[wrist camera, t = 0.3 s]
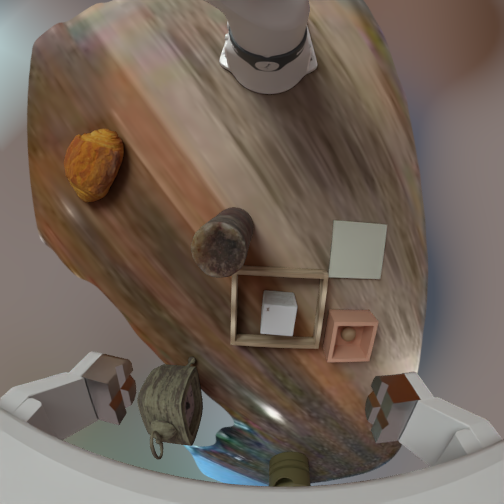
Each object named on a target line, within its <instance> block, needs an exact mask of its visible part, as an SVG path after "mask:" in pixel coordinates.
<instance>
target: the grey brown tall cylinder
mask: <svg viewBox="0 0 504 504" xmlns="http://www.w3.org/2000/svg"><path fill="white" fill-rule="evenodd" d="M252 235H253V222H252V219H251V217H250V215H249V214H248V213H247V212H246V211H245V210H243V209H240V208H235V207H233V208H228V209H225V210H224V211H222V212H221V213H219V214H218V215H217V216H216V217H214V218H213V219H211V220H210V221H209V222H208V223H206V224H205V225H203V226H202V227H201V228H200V229H199V230H198V231H197V232H196V233H195V235H194V237H193V240H192V243H191V252H192V256H193V259H194V261H195V263H196V264H197V265H198V266H199V267H200V268H201V270H202V271H204V272H205V273H206V274H207V275H210V276H212V277H228V276H231V275H233V274H235V273H236V272H237V271H239V270H240V269H241V268H242V266H243V264H244V263H245V260H246V256H247V252H248V248H249V244H250V241H251V238H252Z"/></svg>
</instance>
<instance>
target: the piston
mask: <svg viewBox="0 0 504 504" xmlns="http://www.w3.org/2000/svg"><path fill="white" fill-rule="evenodd" d="M269 476H270V477H269V486H270V487H299V486H311V485H310V476H309V466H308V458H307V457H306V456H305V455H304V454H301V453H298V452H284V453H280V454H277V455H275V456H274V457H272V458H271V460H270V466H269Z"/></svg>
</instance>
